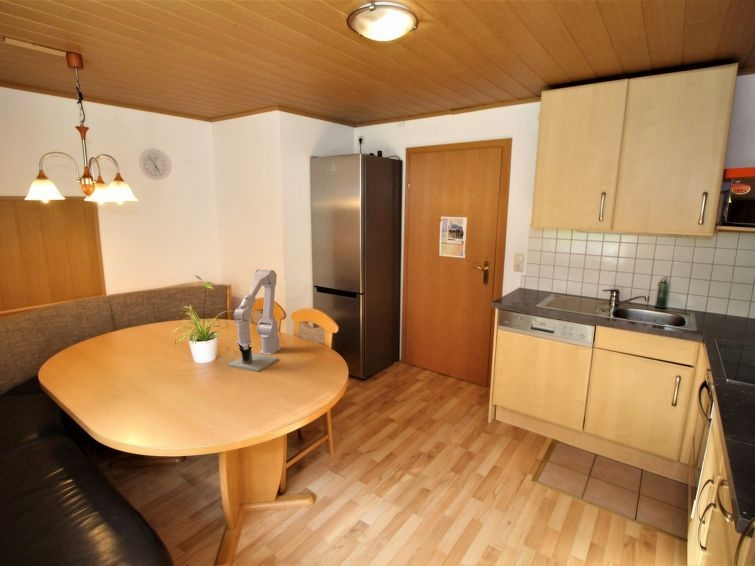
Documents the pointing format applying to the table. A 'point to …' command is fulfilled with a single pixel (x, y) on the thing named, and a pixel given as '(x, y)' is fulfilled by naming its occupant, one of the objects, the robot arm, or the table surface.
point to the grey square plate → (254, 362)
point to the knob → (249, 359)
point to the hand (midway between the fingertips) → (245, 358)
